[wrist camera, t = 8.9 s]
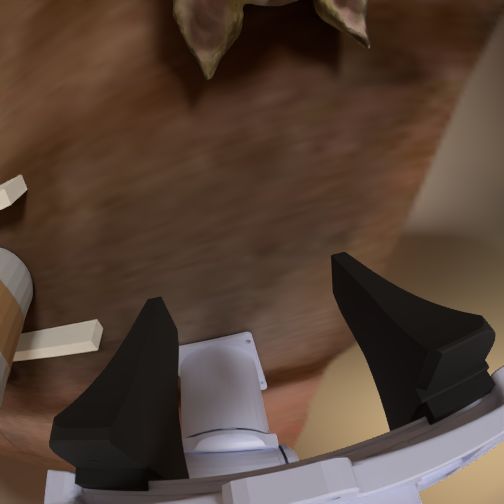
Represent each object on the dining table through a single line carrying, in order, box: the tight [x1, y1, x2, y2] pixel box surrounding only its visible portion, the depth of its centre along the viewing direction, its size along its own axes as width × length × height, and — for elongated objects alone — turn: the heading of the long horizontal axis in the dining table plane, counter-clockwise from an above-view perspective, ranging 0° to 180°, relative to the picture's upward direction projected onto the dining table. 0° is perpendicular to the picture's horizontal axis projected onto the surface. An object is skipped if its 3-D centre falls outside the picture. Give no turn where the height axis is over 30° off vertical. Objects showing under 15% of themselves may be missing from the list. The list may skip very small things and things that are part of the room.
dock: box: [0, 175, 103, 361], centre depth 20 cm, size 15×13×2 cm
